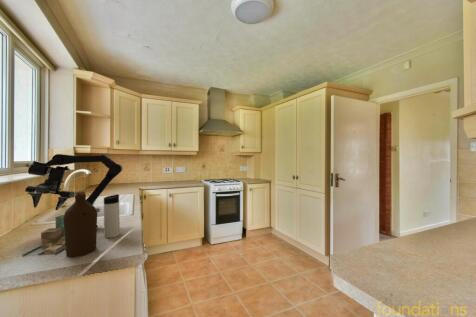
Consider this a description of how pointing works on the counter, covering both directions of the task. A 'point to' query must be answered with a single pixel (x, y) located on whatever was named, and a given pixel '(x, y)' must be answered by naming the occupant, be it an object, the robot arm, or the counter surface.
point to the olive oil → (80, 227)
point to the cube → (51, 235)
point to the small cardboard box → (53, 249)
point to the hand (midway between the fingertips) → (45, 208)
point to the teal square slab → (58, 225)
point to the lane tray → (41, 251)
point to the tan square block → (61, 243)
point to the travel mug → (111, 216)
